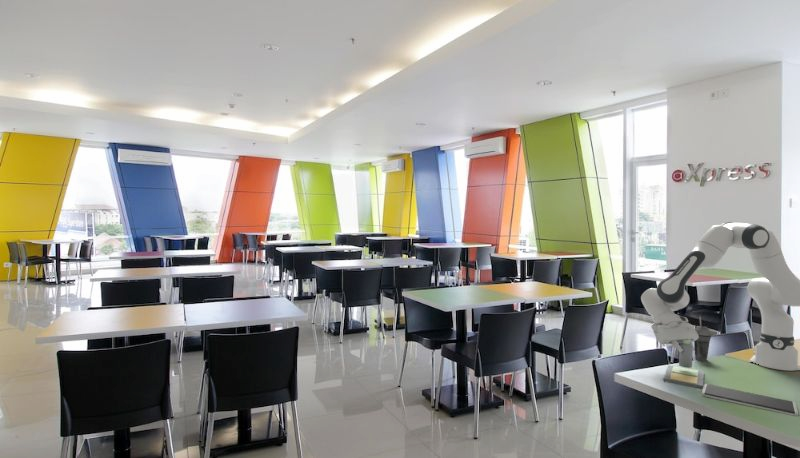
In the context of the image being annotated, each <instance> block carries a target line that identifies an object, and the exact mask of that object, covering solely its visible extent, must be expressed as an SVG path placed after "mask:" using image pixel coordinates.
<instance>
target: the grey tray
mask: <svg viewBox="0 0 800 458" xmlns="http://www.w3.org/2000/svg"><path fill="white" fill-rule="evenodd" d="M700 394H701V396H703V397H705V398H711V399H715V400H720V401H725V402H729V403H732V404H734V403H735V404H738V405H743V406H749V407H754V408H758V409H761V410H762V409H763V410H766V411H772V412H777V413H781V414H786V415H791V416H795V417H799V410H798V407H797V403H796V402H795V401H792V400H788V399H787V400H786V399H782V398H776V397H772V396H767V395H763V394H759V393H754V392H750V391H749V392H747V391H743V390H739V389H734V388H728V387H723V386H720V385H719V386H718V385H714V384H708V383H703V388H702V390H701V393H700Z"/></svg>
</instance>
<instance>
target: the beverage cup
mask: <svg viewBox="0 0 800 458" xmlns="http://www.w3.org/2000/svg"><path fill="white" fill-rule="evenodd" d="M694 329H695V331H696V332H697V334H698V336H699V338H698V339H697V340H696V341H694V342H693V344H694V345H693V347H694V348H695V350H694V359H696V360H698V361H701V360H707V359H708V357H709V356H708V355H709V348H710V341H711V338H712V333H711V330H710V329H709V327H708V326H705V325H702V317H701V315H699V325H697V326H695V328H694Z"/></svg>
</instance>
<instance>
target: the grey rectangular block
mask: <svg viewBox="0 0 800 458" xmlns="http://www.w3.org/2000/svg"><path fill="white" fill-rule="evenodd" d="M679 345H680V346H681V347H683V349H684V351H683V352H679V351H678V367H682V368H688V369H691V368H693V352H694V351H693V347H694V345H691V344H690V341H689V340H683V343H679Z"/></svg>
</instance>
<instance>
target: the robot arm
mask: <svg viewBox="0 0 800 458" xmlns="http://www.w3.org/2000/svg"><path fill="white" fill-rule="evenodd" d="M730 247H731V248H732V247H733V248H738V249H748V250H749V254H750V257H751V260H752V262H753V265H754V269H755V271H756V273H758V275H760V276H762V277H756V278H752V279H751V280H749V282H748V284H747V288H746V289H747V291H746V292H747V293H748V295H749V296H750V297H751V299H753V300H754V302H755V303H756V304H757V306H758V310H759V312H760V316H761V332H760V334H759V342H757V343H756V344H755V345H754V346H753V352H754V353H753V355H752V357H750V359H749V361H750V362H749V361H748V362H749V363H751V362H753V363H752V364H755V363H756V365H758V364H759V365H758V366H760V367H764V368H769V369H773V370H779V371H791V372H792V371H800V365H799V350H798V349H796V347H795V346H794V345H795V337H794V325H795V324H794V323H795V322H794V318H793V317H792V316H791V315H789V314H788V312H786V311H785V308H784V307H783V305H784V306H788V307H800V278H799V277H797V276H796V275H795V273H793V271H792V270H791V269H790V268H789V265H788V264H787V261H786V259H785V257H784V254H783V250H782V247H781V246H780V243H779V241H778V239H777V237H776V236H775V234H774V233H773V231H771V230H770V229H768V228H765V227H764V226H761V225H759V224H754V223H753V224H752V223H747V222H732V221H728V222H723V223H721V224H714V225H711V227H710V228H708V229H707V231H705V232H704V233H703V234H702V236H701V237H700V238H699V239H698V240H697V242H696V243H695V244H694V247H693V248H692V249H691V251H689V253H688V254H687V255H686V257H685V258H684V259H683V260H682V261H681V262H680V263H679V265H677V267H676V268H675V270H674V271H673V272H672V273H671V274H670V275H669V276H668V277H666V278H664V279H663V280H661V281H660V282H659V283H658V284H657V286H656V287H655V288H654V287H651V288H647V289H646V290H645V291H643V293H641V296H640V300H641V303H642V305H643V308H644V309H645V310H646V312H647V313H648V315H650V316H651V317H652V318H651V319H652V320H653V322H654V323H652V324H651V329H652V331H653V334H654V336H655V339H656V340H657V341H658V343H659V344H660V345H669V344H670V345H672V347H673V348H675V349H676V350H677V351H678V353H679V352H683V351H684V349H683V347H681V346H680V343H683V340H689V341H690V344H691V345H693V344H694V341H696V340H697V339H698V338H699V336H698V334H697V332H696V331H695V328H694V327H693V325H692V324H691V323H689V320H688V318H687V317H686V316H681V315H679V314H677V313H675V312H677V311H679V310H682V309H684V308H686V307H687V306H688V305H689V304H690V300H691V299H690V295H689V293H688V292H687V290H686V284H687V283H688V282H689V281H690V280H691V278H692V277H693V276H694V274H695V273H696V272H697V271H698V270H699V269H702V268H704V269H705V268H711V267H714V266H716V264H718V263H719V262H720V261H721V260H722V258H723V257H724V255H725V254H726V253H727V251H728V249H729V248H730ZM693 352H695V348H694V345H693Z"/></svg>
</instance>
